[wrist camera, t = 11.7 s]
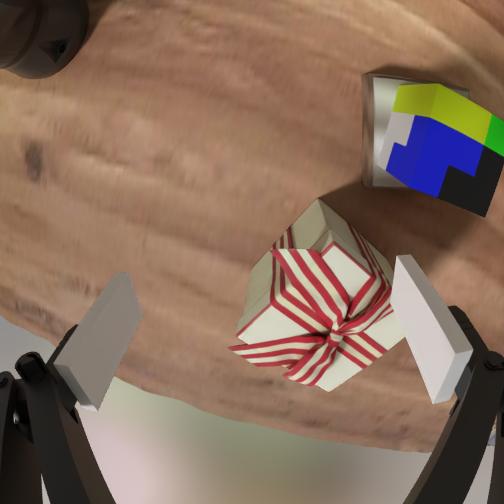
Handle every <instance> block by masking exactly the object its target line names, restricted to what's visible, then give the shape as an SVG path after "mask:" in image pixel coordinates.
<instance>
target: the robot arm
mask: <svg viewBox="0 0 504 504" xmlns="http://www.w3.org/2000/svg"><path fill="white" fill-rule="evenodd" d="M87 25H88V7H87V4H86V1H85V0H0V69H6V70H8V71H10V72H12V73H14V74H16V75H18V76H20V77H23V78H27V79H42V78H47V77H49V76H52V75H54V74H55V73H57V72H58V71H60V70H61V69H62V68H64V67H65V66H66V65H67V64H68V63H69V61H70V60H71V59H72V58H73V56H74V55H75V54H76V52H77V51H78V49H79V47H80V45H81V43H82V41H83V38H84V36H85V33H86V29H87ZM390 304H391V306H392V308H393V310H394V312H395V315H396V317H397V319H398V321H399V323H400V325H401V328H402V330H403V332H404V334H405V337H406V339H407V341H408V344H409V346H410V348H411V351H412V353H413V355H414V358H415V360H416V363H417V365H418V367H419V370H420V372H421V375H422V377H423V380H424V382H425V385H426V388H427V390H428V393H429V395H430V398H431V401H432V404H435V403H440V402H444V401H448V400H450V398H451V396H452V394H453V392H454V390H455V392H456V395H457V397H458V399H457V400H456V402H455V404H454V406H453V408H452V409H451V411H450V413H449V414H450V416H449V419H448V421H447V423H446V425H445V428H444V430H443V432H442V434H441V436H440V438H439V440H438V442H437V444H436V446H435V448H434V450H433V452H432V454H431V456H430V458H429V460H428V462H427V464H426V465H425V467H424V469H423V471H422V473H421V474H420V476H419V478H418V480H417V482H416V483H415V485H414V487H413V488H412V490H411V491H410V493H409V495H408V496H407V498H406V499H405V501H404V503H403V504H463V502H464V500H465V498H466V496H467V494H468V491H469V489H470V487H471V485H472V482H473V480H474V478H475V475H476V473H477V470H478V468H479V465H480V463H481V460H482V457H483V455H484V452H485V449H486V446H487V444H488V441H489V438H490V435H491V431H492V428H493V425H494V422H495V418H496V438H495V450H494V461H493V469H492V476H491V484H490V490H489V495H488V501H487V504H504V357H503V356H502V355H501V354H499V353H497V352H494V351H489V350H488V348H487V347H486V345H485V343H484V342H483V340H482V339H481V337H480V335H479V334H478V332H477V331H476V329H475V328H474V326H473V325H472V323H471V322H470V320H469V319H468V317H467V316H466V314H465V313H464V312H463V311H462V310H461V309H459V308H458V307H457V306H448V307H447V306H446V304H445V303H444V301H443V300H442V298H441V297H440V295H439V294H438V292H437V291H436V289H435V288H434V286H433V285H432V284H431V282H430V281H429V279H428V278H427V276H426V275H425V273H424V272H423V271H422V269H421V268H420V266H419V265H418V264H417V262H416V261H415V260H414V258H413V257H412V256H411V254H410V255H397V256H396V264H395V272H394V279H393V286H392V293H391V299H390ZM142 317H143V313H142V310H141V307H140V304H139V301H138V298H137V295H136V292H135V289H134V286H133V283H132V280H131V277H130V274H129V272H120V273H116V274H115V275H114V276H113V278H112V279H111V280H110V282H109V283H108V284H107V286H106V287H105V288H104V290H103V291H102V293H101V294H100V295H99V297H98V298H97V300H96V301H95V302H94V304H93V305H92V307H91V308H90V309H89V311H88V312H87V314H86V315H85V316H84V318H83V319H82V321H81V322H80V324H79V325H75V326H74V327H72V328H71V329H70V330H69V331H68V332H67V333H66V335H65V336H64V338H63V340H62V341H61V342H60V343H59V347H57V348H56V350H55V351H54V353H53V354H52V356H51V357H50V359H49V360H48V362H47V363H46V364H45V363H44V361H43V359H42V358H41V356H40V354H39V353H37V352H28V353H26V354H24V355H22V356H21V357H20V358H19V359H18V360H17V362H16V364H15V369H16V371H17V372H18V374H19V375H20V377H21V378H22V379H15V378H14V377H13V375H12V374H11V373H10V372H8V371H4V372H1V373H0V504H43V499H42V482H41V474H42V477H43V481H44V484H45V487H46V491H47V494H48V497H49V501H50V504H116V503H115V501H114V499H113V497H112V495H111V493H110V491H109V489H108V486H107V484H106V482H105V480H104V478H103V475H102V473H101V471H100V469H99V466H98V464H97V462H96V459H95V457H94V455H93V452H92V449H91V447H90V444H89V442H88V439H87V436H86V434H85V431H84V428H83V426H82V422H81V420H80V417H79V414H78V411H77V409H76V408H75V404H76V402H77V400H78V402H79V403H80V404H81V406H82V407H83V409H88V410H93V411H98V410H99V408H100V405H101V403H102V401H103V398H104V396H105V394H106V392H107V389H108V388H109V385H110V383H111V381H112V379H113V377H114V375H115V372H116V370H117V368H118V366H119V364H120V362H121V360H122V358H123V356H124V353H125V351H126V349H127V347H128V345H129V343H130V341H131V339H132V337H133V335H134V333H135V331H136V329H137V327H138V325H139V323H140V321H141V319H142ZM496 415H497V417H496ZM14 418H15V423H14Z"/></svg>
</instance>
